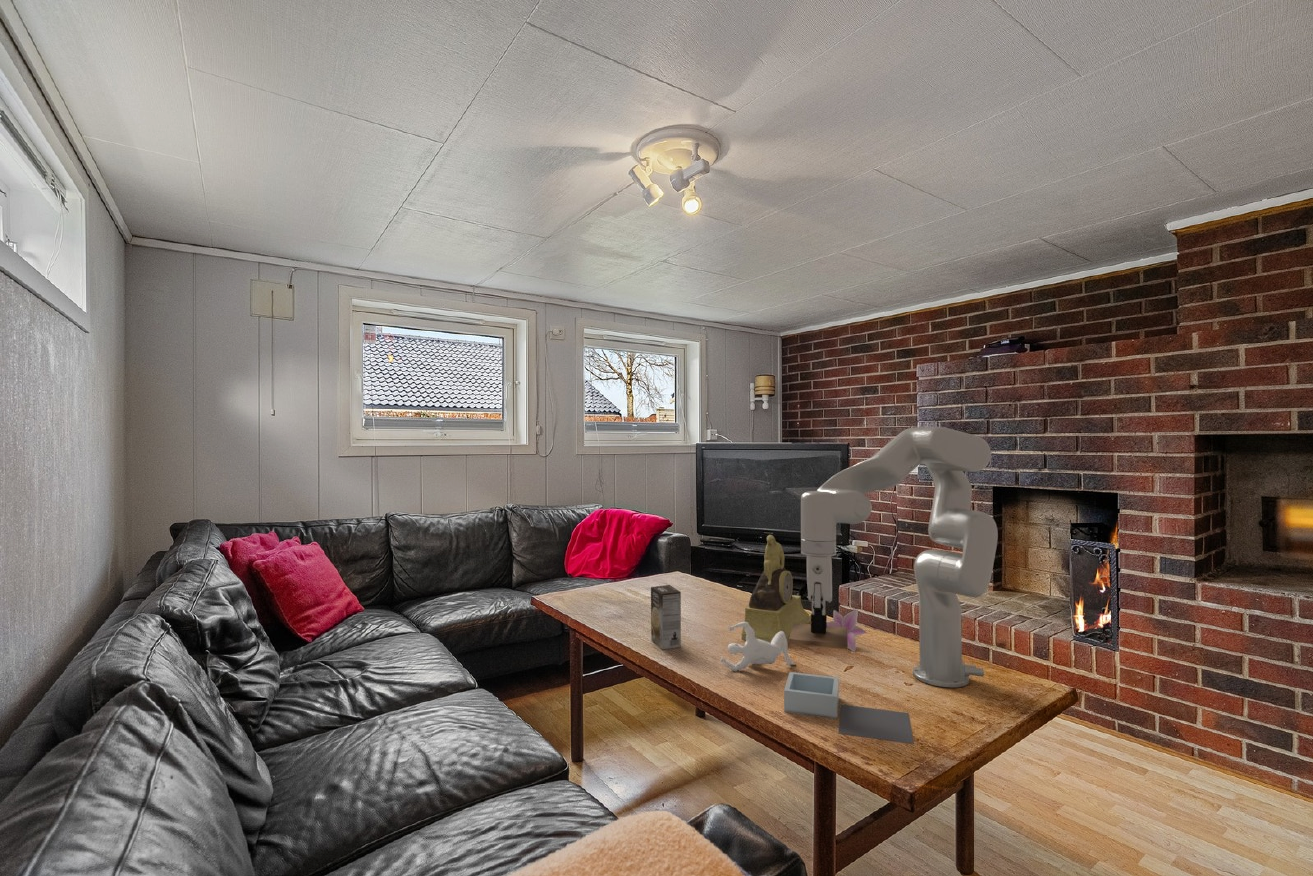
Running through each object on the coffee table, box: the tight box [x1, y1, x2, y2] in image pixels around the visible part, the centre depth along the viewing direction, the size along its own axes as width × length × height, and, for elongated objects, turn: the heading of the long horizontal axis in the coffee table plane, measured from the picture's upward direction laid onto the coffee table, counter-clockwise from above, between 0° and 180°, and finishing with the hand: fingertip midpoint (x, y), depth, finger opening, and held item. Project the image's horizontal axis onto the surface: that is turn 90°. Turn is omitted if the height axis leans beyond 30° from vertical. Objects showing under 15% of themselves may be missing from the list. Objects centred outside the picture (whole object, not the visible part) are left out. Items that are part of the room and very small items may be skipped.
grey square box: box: [783, 671, 840, 720], centre depth 134 cm, size 11×11×5 cm
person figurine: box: [719, 621, 796, 672], centre depth 157 cm, size 13×13×18 cm
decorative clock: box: [741, 534, 811, 644], centre depth 188 cm, size 28×13×30 cm, turn 150°
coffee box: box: [650, 584, 682, 650], centre depth 177 cm, size 9×6×16 cm
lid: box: [788, 609, 849, 650], centre depth 133 cm, size 12×12×6 cm
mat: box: [838, 704, 915, 745], centre depth 125 cm, size 14×14×1 cm
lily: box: [827, 609, 868, 652], centre depth 174 cm, size 12×12×10 cm
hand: (818, 629), depth 133 cm, fingers closed on lid, 3 cm apart
